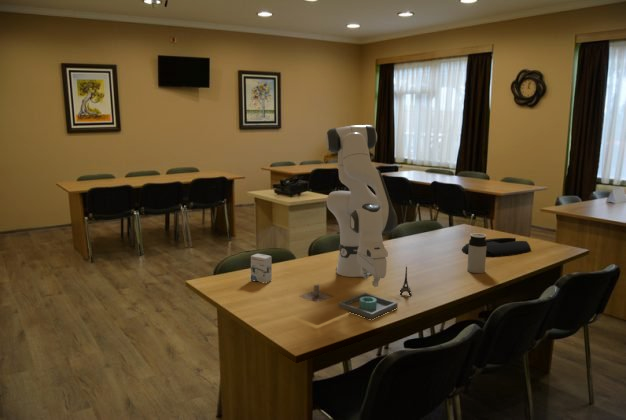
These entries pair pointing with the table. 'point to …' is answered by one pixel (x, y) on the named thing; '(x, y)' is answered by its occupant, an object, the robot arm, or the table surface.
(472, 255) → the travel mug
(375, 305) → the ring
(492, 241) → the black folded towel
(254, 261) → the ink box
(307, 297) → the post stand
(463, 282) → the table surface
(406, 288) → the eiffel tower figurine
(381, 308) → the tray
